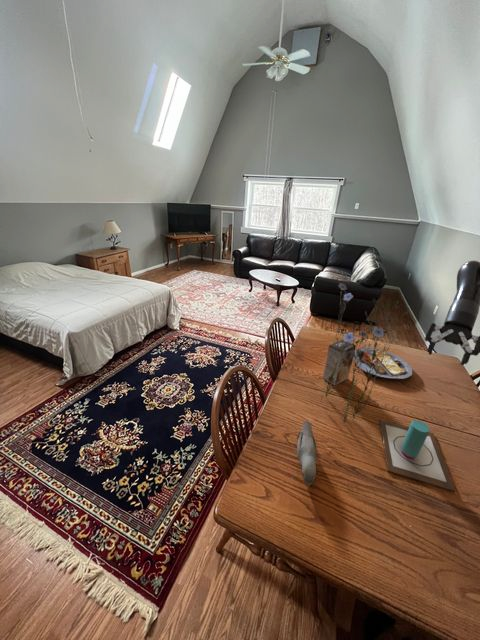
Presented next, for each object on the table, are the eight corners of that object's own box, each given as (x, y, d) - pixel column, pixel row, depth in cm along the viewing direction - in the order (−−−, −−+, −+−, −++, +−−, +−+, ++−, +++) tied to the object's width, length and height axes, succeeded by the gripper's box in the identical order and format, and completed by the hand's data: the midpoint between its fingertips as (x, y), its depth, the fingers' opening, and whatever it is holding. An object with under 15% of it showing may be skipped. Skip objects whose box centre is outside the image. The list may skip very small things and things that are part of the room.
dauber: (414, 450, 80) (427, 422, 76) (418, 462, 77) (431, 434, 72) (398, 445, 82) (410, 418, 77) (401, 457, 78) (413, 429, 73)
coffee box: (335, 370, 117) (342, 338, 110) (348, 378, 112) (357, 345, 106) (321, 377, 112) (329, 344, 105) (334, 386, 107) (343, 352, 100)
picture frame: (432, 434, 87) (433, 433, 87) (454, 492, 70) (455, 490, 70) (379, 420, 92) (379, 419, 91) (387, 471, 74) (388, 470, 74)
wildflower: (387, 419, 92) (433, 296, 73) (344, 447, 81) (385, 310, 62) (336, 382, 109) (362, 275, 90) (294, 401, 98) (314, 283, 79)
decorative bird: (297, 486, 69) (301, 467, 66) (294, 436, 84) (297, 418, 81) (318, 490, 69) (323, 470, 66) (312, 439, 83) (316, 421, 80)
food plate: (345, 349, 134) (346, 343, 132) (392, 352, 133) (394, 346, 132) (364, 381, 111) (366, 374, 110) (420, 384, 111) (423, 377, 109)
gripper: (438, 304, 89) (421, 346, 86) (493, 317, 81) (477, 364, 78) (434, 314, 95) (418, 354, 92) (485, 327, 87) (470, 371, 84)
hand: (445, 358), depth 85 cm, fingers open, 8 cm apart
